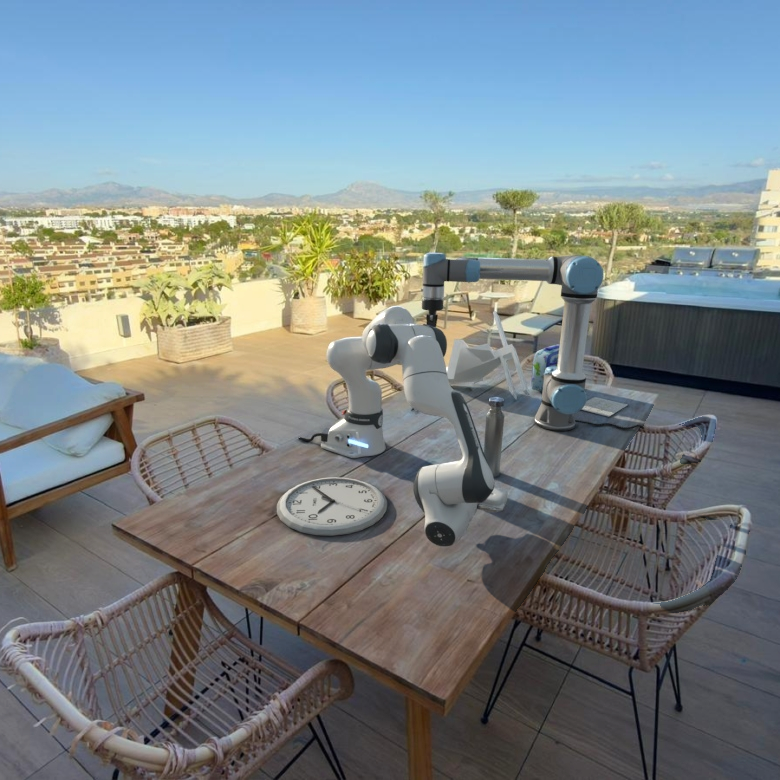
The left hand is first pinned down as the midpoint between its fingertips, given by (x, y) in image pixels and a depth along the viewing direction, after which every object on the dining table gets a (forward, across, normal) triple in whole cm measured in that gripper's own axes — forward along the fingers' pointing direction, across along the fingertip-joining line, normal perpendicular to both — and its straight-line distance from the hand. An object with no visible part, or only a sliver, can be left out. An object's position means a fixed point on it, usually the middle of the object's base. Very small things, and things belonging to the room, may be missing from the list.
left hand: (474, 480), depth 142 cm
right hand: (+48, +31, -21) cm, 60 cm away
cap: (+21, 0, -17) cm, 27 cm away
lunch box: (+123, -5, +7) cm, 123 cm away
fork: (+70, +44, +7) cm, 83 cm away
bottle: (+21, 0, +7) cm, 23 cm away
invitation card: (+106, -28, +7) cm, 110 cm away
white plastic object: (+102, +25, +7) cm, 105 cm away
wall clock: (-17, +35, +7) cm, 39 cm away
